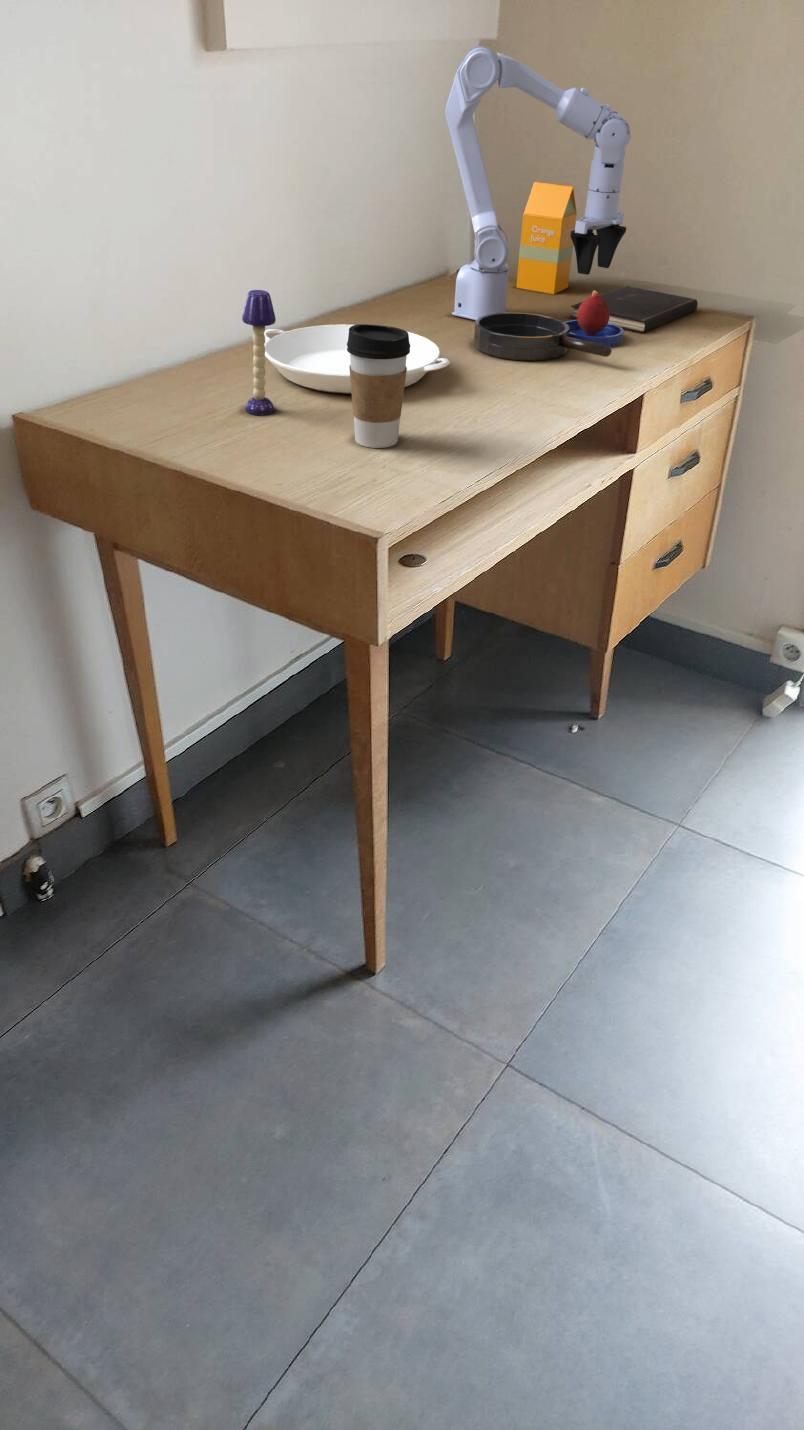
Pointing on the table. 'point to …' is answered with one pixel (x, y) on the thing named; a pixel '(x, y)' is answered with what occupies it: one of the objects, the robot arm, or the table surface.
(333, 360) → the pan
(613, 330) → the saucer
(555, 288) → the orange juice
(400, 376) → the coffee cup
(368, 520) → the table surface
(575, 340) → the pan handle
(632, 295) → the hardcover book
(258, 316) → the toy lamp
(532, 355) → the frying pan
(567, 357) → the table surface
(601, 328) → the onion
